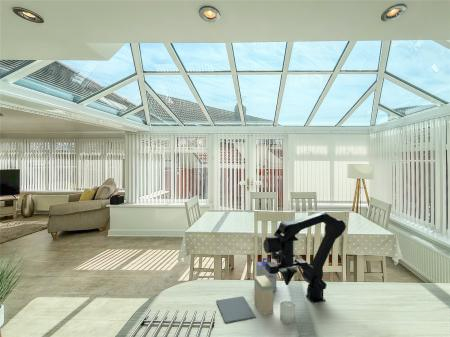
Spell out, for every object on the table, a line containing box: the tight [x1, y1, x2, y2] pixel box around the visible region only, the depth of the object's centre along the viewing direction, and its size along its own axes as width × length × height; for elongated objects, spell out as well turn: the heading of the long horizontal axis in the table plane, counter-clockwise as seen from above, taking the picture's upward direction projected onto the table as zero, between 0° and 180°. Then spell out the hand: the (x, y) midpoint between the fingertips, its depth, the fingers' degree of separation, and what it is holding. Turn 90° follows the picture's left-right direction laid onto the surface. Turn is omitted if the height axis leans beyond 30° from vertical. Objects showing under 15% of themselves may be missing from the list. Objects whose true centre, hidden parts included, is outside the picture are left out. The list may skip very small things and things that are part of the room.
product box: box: [255, 257, 277, 292], centre depth 131 cm, size 10×6×14 cm, turn 81°
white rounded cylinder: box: [279, 300, 296, 325], centre depth 106 cm, size 6×6×6 cm
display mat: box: [216, 295, 257, 324], centre depth 113 cm, size 13×16×1 cm
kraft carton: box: [253, 275, 274, 315], centre depth 114 cm, size 5×9×12 cm, turn 15°
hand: (286, 284), depth 117 cm, fingers closed
